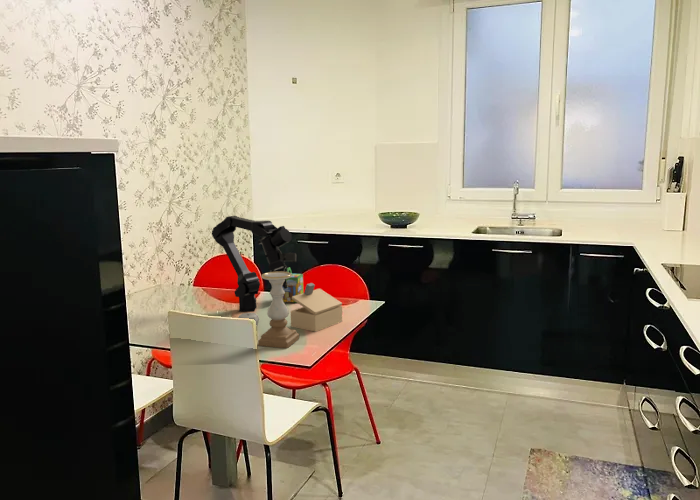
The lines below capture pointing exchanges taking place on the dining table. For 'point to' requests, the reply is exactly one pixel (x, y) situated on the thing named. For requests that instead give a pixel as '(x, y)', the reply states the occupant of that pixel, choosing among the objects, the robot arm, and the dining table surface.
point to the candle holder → (278, 315)
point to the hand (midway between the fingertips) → (285, 287)
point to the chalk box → (293, 286)
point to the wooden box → (315, 318)
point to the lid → (316, 300)
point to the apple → (250, 316)
